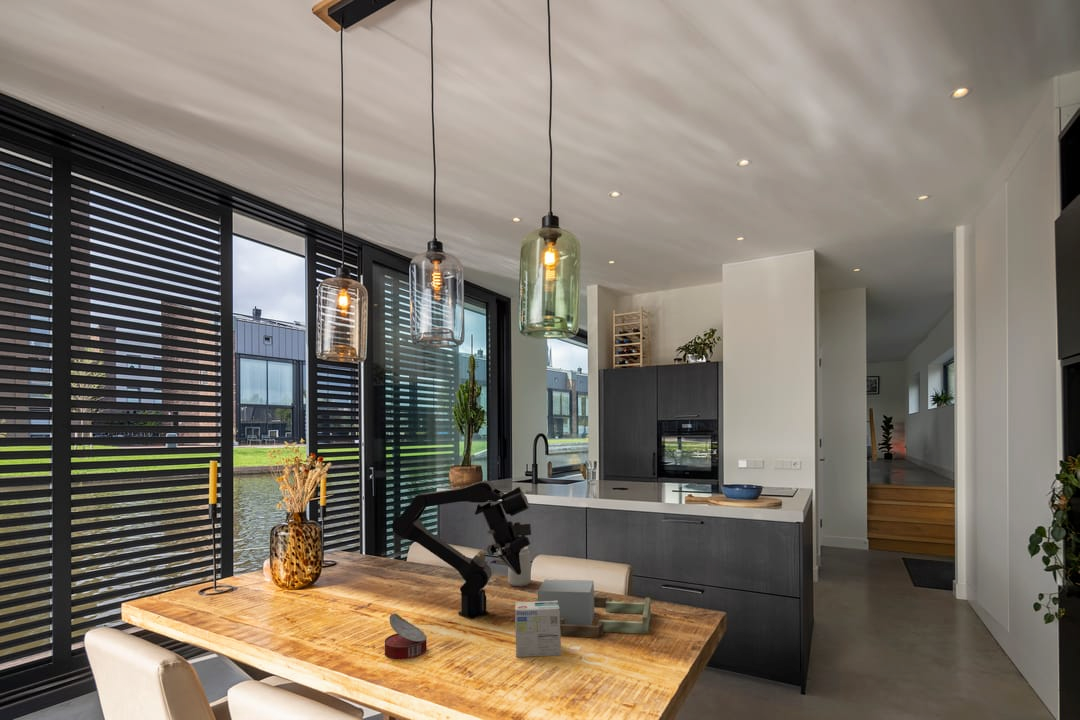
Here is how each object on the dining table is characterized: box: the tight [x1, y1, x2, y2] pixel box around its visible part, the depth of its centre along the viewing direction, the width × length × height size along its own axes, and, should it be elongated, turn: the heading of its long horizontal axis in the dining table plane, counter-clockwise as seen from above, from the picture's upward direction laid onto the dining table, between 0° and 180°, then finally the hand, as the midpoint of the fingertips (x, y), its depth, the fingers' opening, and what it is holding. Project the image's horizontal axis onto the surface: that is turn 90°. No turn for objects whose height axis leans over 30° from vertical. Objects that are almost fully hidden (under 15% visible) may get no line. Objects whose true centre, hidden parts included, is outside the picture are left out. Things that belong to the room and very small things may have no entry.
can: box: [507, 546, 532, 587], centre depth 204 cm, size 8×8×12 cm
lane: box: [560, 595, 652, 639], centre depth 165 cm, size 30×27×4 cm
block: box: [537, 579, 595, 625], centre depth 167 cm, size 14×12×9 cm
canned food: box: [384, 612, 428, 660], centre depth 146 cm, size 11×10×10 cm
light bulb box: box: [514, 601, 562, 658], centre depth 144 cm, size 11×7×11 cm, turn 92°
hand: (519, 574), depth 172 cm, fingers closed
